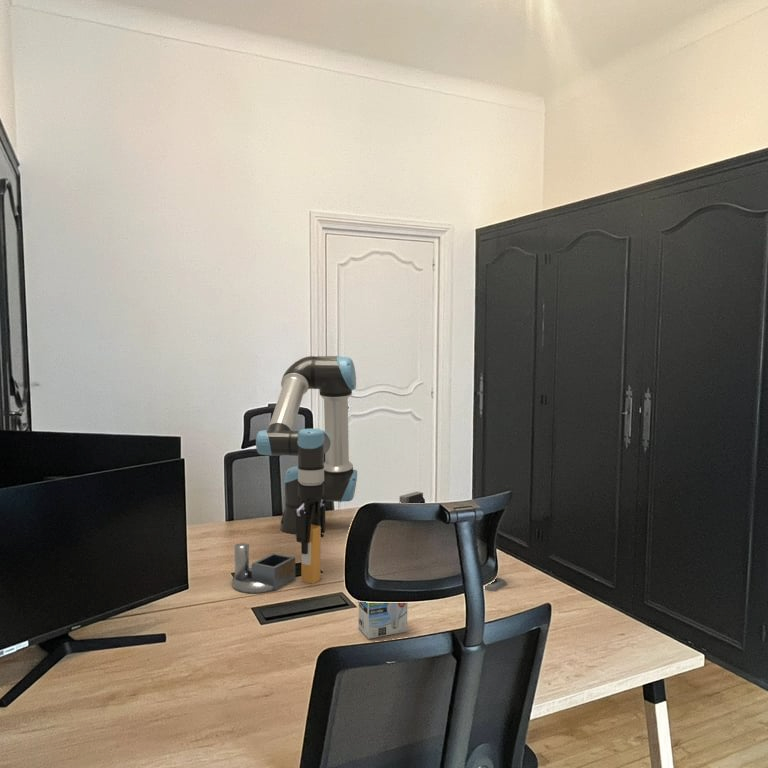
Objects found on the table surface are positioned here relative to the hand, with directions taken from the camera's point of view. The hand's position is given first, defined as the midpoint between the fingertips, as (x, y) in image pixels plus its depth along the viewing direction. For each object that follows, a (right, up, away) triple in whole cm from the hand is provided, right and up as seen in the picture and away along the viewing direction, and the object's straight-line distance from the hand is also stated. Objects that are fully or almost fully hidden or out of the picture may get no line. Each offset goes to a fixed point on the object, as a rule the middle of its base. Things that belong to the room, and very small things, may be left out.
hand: (311, 561), depth 185 cm
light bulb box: (+21, -8, -31) cm, 38 cm away
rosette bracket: (-15, -6, -2) cm, 16 cm away
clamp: (+42, -6, +8) cm, 43 cm away
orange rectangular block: (0, -6, 0) cm, 6 cm away
